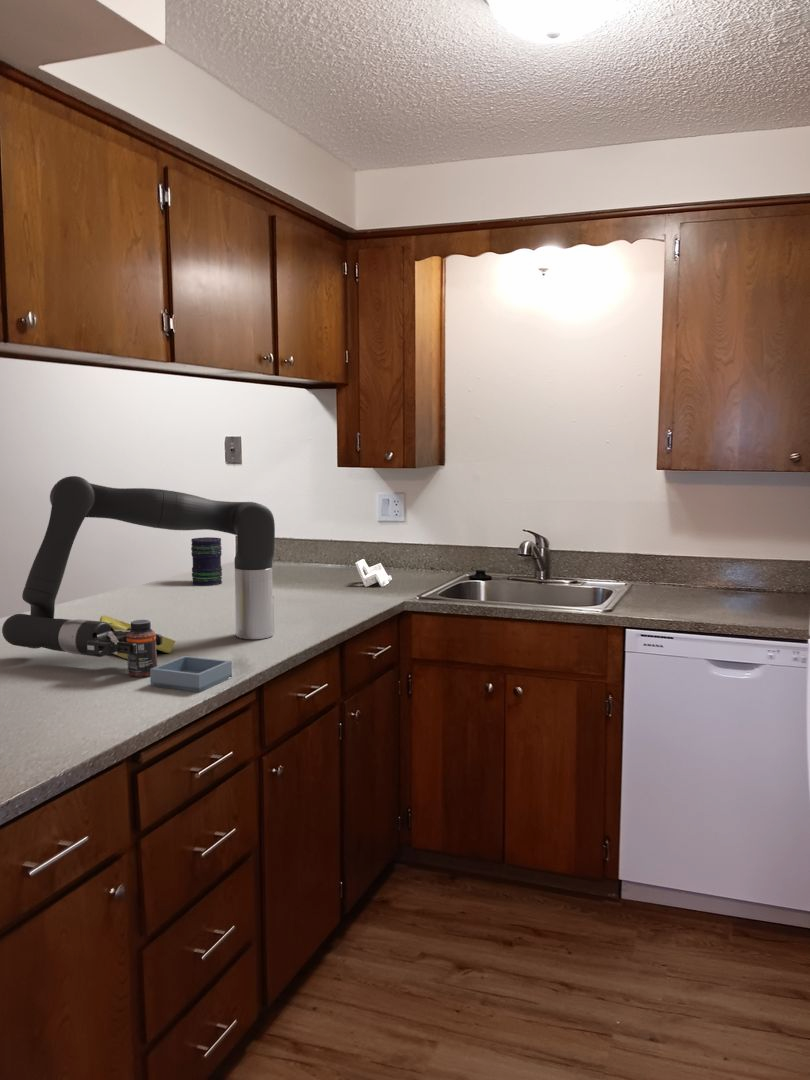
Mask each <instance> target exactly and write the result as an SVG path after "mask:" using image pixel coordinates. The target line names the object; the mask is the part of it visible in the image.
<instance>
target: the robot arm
mask: <svg viewBox="0 0 810 1080" xmlns="http://www.w3.org/2000/svg"><path fill="white" fill-rule="evenodd" d="M49 502H50V505H51V508H50V515H49V521H48V524H47V528H46V530H45V531H46V532H45V534H44V536H43V539H42V542H41V544H40V546H39V549H38V551H37V553H36V555H35V557H34V559H33V562H32V565H31V567H30V570H29V573H28V575H27V579H26V582H25V584H24V588H23V591H22V595H21V598H22V600H23V601H24V602H25V603H26V604H28V605H30V614H27V613H26V614H25V613H16V614H12V615H11V616H9V617H8V618H6V620H5V621H4V622H3V624H2V628H1V633H2V636H3V639H4V640H5V641H6V642H7V643H8V644H11V646H12V645H13V646H17V647H22V648H28V649H40V648H44V649H47V650H51V651H56V652H64V653H69V654H74V655H79V656H87V657H97V658H102V657H105V656H106V657H109V656H111V655H112V654H113V655H115V654H119V653H124V654H135V653H136V644H135V643H128V642H127V633H128V632H130V630H131V628H128V629H127V631H123V630H114V629H113V628H112V626H111V625H110V624H109V623H107V622H101V621H100V620H91V619H90V620H89V619H69V618H55V611H56V610H55V608H56V607H55V603H56V600H57V596H58V593H59V590H60V587H61V585H62V582H63V578H64V575H65V570H66V568H67V564H68V560H69V557H70V553H71V550H72V548H73V544H74V542H75V539H76V537H77V535H78V532H79V530H80V529H81V526H82V524H83V522H84V520H85V518H96V519H98V518H99V519H110V520H115V521H120V522H124V523H128V524H132V525H133V524H134V525H138V526H142V527H149V528H153V529H163V530H169V531H202V530H203V531H204V530H205V531H207V530H208V531H216V532H222V533H226V534H231V535H235V536H237V539H236V540H237V541H236V542H237V543H236V544H237V545H236V546H237V549H236V554H235V556H234V597H235V598H234V604H235V607H234V608H235V613H234V614H235V637H236V636H237V637H236V638H238V637H239V639H242V638H243V640H262V639H268V638H271V637H273V635H274V633H275V597H274V595H273V593H274V592H273V590H274V589H273V560H274V556H275V541H276V540H275V537H276V534H275V533H276V530H275V529H276V527H275V518H274V513H272V511H271V509H269V507H267V506H265V505H263V504H262V503H261V504H260V503H259V502H255V501H223V500H214V499H209V498H205V497H201V496H198V495H194V494H190V493H186V492H180V491H175V490H167V489H160V488H146V487H145V488H143V487H139V488H138V487H137V488H136V487H134V488H133V487H132V488H127V487H126V488H125V487H124V488H123V487H122V488H117V487H110V486H106V485H105V486H104V485H100V484H95V483H92V482H91V483H90V481H88V480H86V479H85V478H83V477H81V476H77V475H76V476H75V475H72V476H65V477H63V478H61V479H60V480H58V481H57V482H56V483H55V484H54V485H53V486H52V488H51V490H50V494H49ZM155 634H156V645H161V644H162V636H163V635H162V634H158V633H155Z"/></svg>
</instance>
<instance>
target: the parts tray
mask: <svg viewBox="0 0 810 1080" xmlns="http://www.w3.org/2000/svg"><path fill="white" fill-rule="evenodd" d="M232 663H233V662H232V660H225V659H215V658H207V657H199V656H189V655H183V656H180V657H178V658H175V659H173V660H169V661H167V662H165V663H162V664H160V665H157V667H154V668H151V669H150V676H149V679H150V680H149V681H150V687H154V686H156V687H157V688H162V687H163V689H171V690H177V689H178V691H185V692H186V691H187V692H192V693H194V692H195V693H201V692H203V691H206V690H208V689H210V688H212V687H215V686H217V685H219V684H221V683H223V682H225V681H224V680H226V679H228V678H229V677H232V678H233V674H232V673H233V671H232V670H233V668H232V667H233V665H232ZM228 680H229V679H228ZM222 681H223V682H222ZM226 681H227V680H226ZM220 682H221V683H220ZM218 683H219V684H218ZM216 684H217V685H216ZM214 685H215V686H214Z"/></svg>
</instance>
